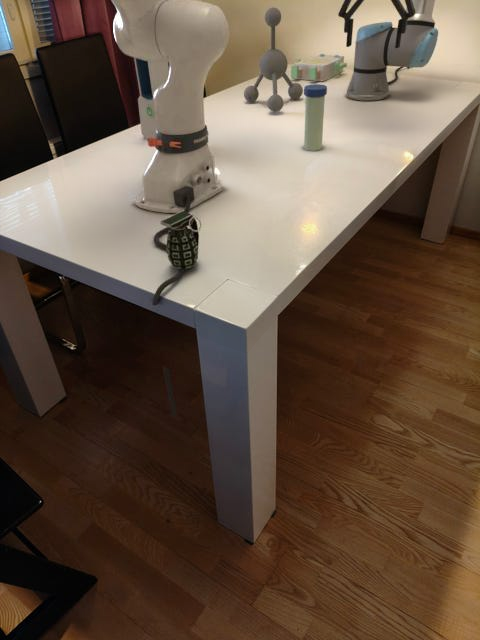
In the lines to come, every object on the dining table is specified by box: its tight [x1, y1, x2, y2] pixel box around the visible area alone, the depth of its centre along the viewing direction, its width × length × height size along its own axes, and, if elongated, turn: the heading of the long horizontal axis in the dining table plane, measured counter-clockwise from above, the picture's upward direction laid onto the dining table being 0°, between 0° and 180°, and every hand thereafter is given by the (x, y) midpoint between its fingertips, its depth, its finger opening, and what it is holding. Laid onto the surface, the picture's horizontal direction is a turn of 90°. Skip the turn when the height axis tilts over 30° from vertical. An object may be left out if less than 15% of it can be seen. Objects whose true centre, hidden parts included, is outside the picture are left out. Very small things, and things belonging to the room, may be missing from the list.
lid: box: [303, 83, 328, 97], centre depth 130 cm, size 6×6×2 cm
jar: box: [303, 95, 326, 152], centre depth 135 cm, size 5×5×16 cm
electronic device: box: [133, 57, 170, 140], centre depth 143 cm, size 12×8×30 cm, turn 47°
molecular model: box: [243, 6, 304, 113], centre depth 169 cm, size 24×22×30 cm
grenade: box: [159, 211, 202, 271], centre depth 88 cm, size 7×6×10 cm
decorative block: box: [290, 53, 348, 82], centre depth 209 cm, size 26×6×20 cm
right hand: (372, 46), depth 136 cm, fingers open, 13 cm apart
